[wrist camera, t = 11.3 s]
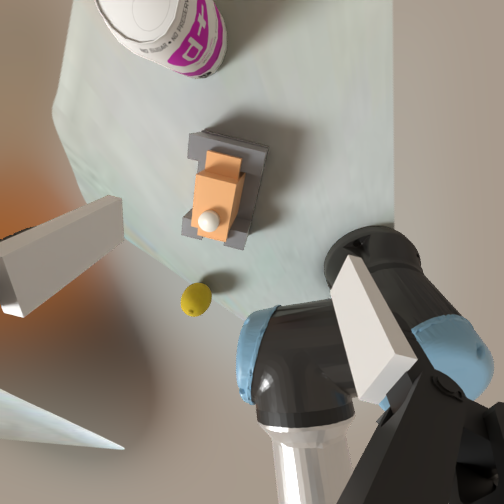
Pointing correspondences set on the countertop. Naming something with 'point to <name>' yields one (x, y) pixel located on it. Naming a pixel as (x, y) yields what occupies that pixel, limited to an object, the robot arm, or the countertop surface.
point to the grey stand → (250, 165)
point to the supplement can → (170, 32)
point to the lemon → (196, 299)
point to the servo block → (217, 195)
